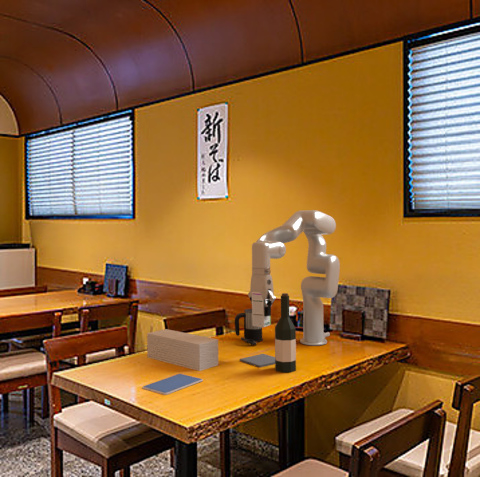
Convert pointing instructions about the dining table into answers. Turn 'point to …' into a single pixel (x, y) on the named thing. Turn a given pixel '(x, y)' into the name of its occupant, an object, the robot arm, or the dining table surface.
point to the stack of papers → (183, 349)
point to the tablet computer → (172, 384)
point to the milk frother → (248, 328)
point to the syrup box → (259, 311)
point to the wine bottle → (285, 340)
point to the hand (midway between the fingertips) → (261, 314)
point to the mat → (259, 360)
